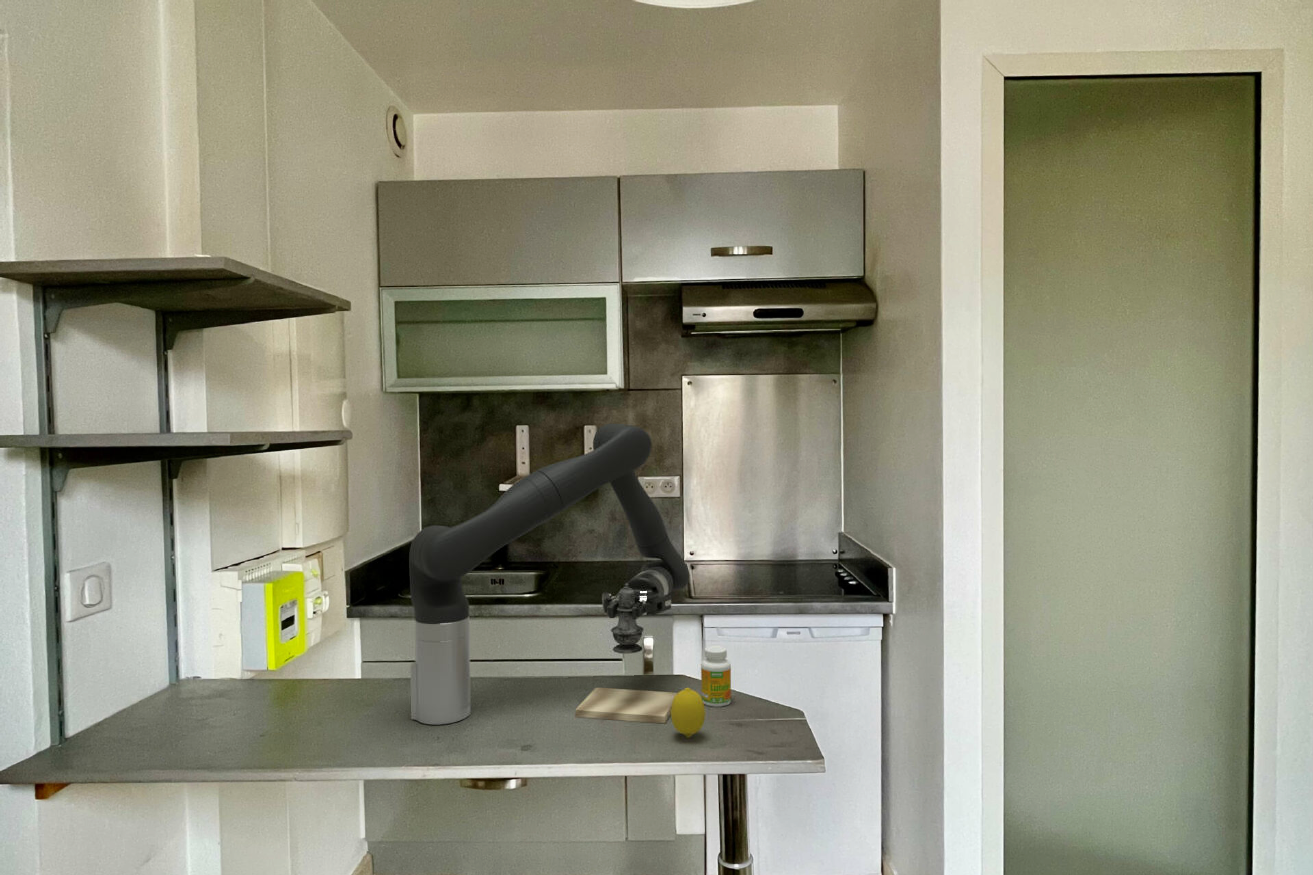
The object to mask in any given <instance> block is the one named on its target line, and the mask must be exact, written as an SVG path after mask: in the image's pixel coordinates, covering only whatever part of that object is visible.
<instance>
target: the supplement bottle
mask: <svg viewBox="0 0 1313 875" xmlns="http://www.w3.org/2000/svg"><path fill="white" fill-rule="evenodd" d="M727 655H728V653H727V648H725V647H723V646H717V645H715V646H711V645H710V646H708V647H705V648H704V658H705V659H704V660H702V662H701V664H700V665H701V667H700V671H701V672H700V674H701V676H700V680H701V682H700V683H701V686H700V687H701V688H700V689H701V698H702V700H703V703H704V706H705V705H706V706H708V707H714V708H719V707H720V708H721V707H725V706H728V705H730V703H731V702H732V679H731V678H732V673H731V671H732V668H731V662H730V661H729V660H728V659H727V657H728V656H727Z"/></svg>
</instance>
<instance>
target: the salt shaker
mask: <svg viewBox="0 0 1313 875" xmlns="http://www.w3.org/2000/svg"><path fill="white" fill-rule="evenodd" d="M627 583H628V582H625V583H624V587H623V588H621V589H619V591H618V593H619V607H618V608H617V610H618V611H619V614H618V621H617V622H618V623H617V625H616V626H614V627H612V628H611V629H610V632H611V633H612V637H613V639H614V641H615V642H616V643H617V644H616V645H615V646H614V647H613V648H612V650H613V652H614V653H617V654H626V655H629V654H636V653H640V652H641V651H643V647H642V646H641V645H640V644H638V643H639V642H640V641H641V638H642V635H643V633H644V631H645V630H644V627H642V626H639V625H638V624H637V619H633V618H632V608H633V606H634V605H635V592H634V590H633V589H631V588H629V587H628V584H627Z"/></svg>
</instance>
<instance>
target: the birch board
mask: <svg viewBox="0 0 1313 875" xmlns="http://www.w3.org/2000/svg"><path fill="white" fill-rule="evenodd" d="M678 693H679V692H670V691H669V692H667V691H653V690H638V689H622V688H621V689H620V688H610V687H609V688H606V687H595V688H594V689H593V690H592V691H591V692H590V693H589V694H588V695H587V697H586V698H585V699H584V700H582V702H581V703H580V704H579V705H578V706H577V707H576V708H575V710H574V714H575V715H574V717H576V718H585V719H586V718H587V719H601V720H614V721H615V720H616V721H625V722H626V721H627V722H628V721H629V722H639V723H640V722H641V723H654V724H666V722H667V721H668V719H669V717H670V716H671V706H672V702H673V699H674V697H675V696H676V695H677V694H678Z"/></svg>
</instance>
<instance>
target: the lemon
mask: <svg viewBox="0 0 1313 875" xmlns="http://www.w3.org/2000/svg"><path fill="white" fill-rule="evenodd" d="M677 693H678V694H677V695H676V696H675V697H674V699H673V702H672V706H671V714H670V718H671V723H672V725H673V727H674V728H675V729H676V731H677V732H679V733H680V734H683V735H684V736H685V738H691V737H692V736H693V735H694V734H696V733H698V732H699V731H700V730H701V729H702V727H703V726H704V723H705V720H706V709H705V704H704V703H703V700H702V695H700V694H699V693H698V692H697V691H695V690H693V689H691V688H690V687H686V688H684V689H682V690H680V691H678V692H677Z"/></svg>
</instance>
